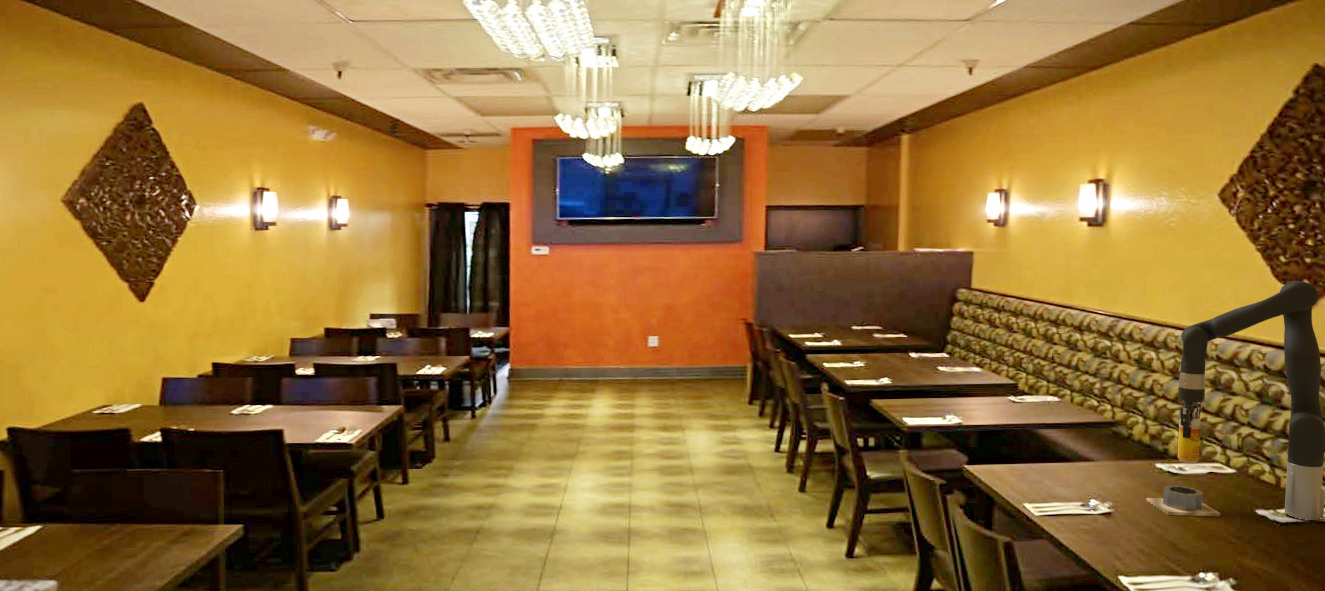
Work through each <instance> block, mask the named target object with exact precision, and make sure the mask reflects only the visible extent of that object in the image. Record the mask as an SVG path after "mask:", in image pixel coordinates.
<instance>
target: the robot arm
mask: <svg viewBox="0 0 1325 591" xmlns="http://www.w3.org/2000/svg"><path fill="white" fill-rule="evenodd" d="M1318 299H1319V293H1318V289H1317V288H1316V287H1315V286H1314V285H1313V284H1312V283H1309V282H1307V281H1302V280H1291V281H1288V282H1287V283H1285V284H1283V286H1282V287H1281V289H1280V291H1279V292H1278V293H1276V294H1274V295H1271V296H1270V297H1267V298H1265V299H1262V300H1260V301H1257V302H1253V303H1250V304H1248V305H1244V306H1241V307H1238V308H1235V309H1231V310H1229V311H1227V312H1224V313H1222V314H1219V315H1217V316H1215V317H1213V318H1210V319H1208V320H1204V321H1200V322H1197V323H1195V324H1192V325H1190V326H1187V327H1186V328H1184V329H1183V331H1182V332H1181V337H1180V338H1181V341H1182V356H1181V359H1180V373H1179V376H1178V377H1179V378H1178V394H1177V398H1178V400H1179V401H1182V402H1184V405H1182V407H1180V410H1179V412H1180V417H1179V419H1180V418H1181V423H1180V424H1181V425H1182V426H1183V437H1184V438H1190V437H1191V426H1192V421H1194V418H1195V417H1199V418H1200V419H1201V410H1202V404H1201V403H1204V402H1205V397H1206V396H1205V395H1206V355H1207V349H1208V343H1209V342H1210V341H1213V340H1216V339H1218V338H1225V337H1228V336H1231V335H1234V334H1236V333H1238V332H1241V331H1243V330H1246V329H1248V328H1251V327H1253V326H1256V325H1258V324H1260V323H1263V322H1265V321H1268V320H1271V319H1273V318H1276V317H1279V316H1282V317H1283V325H1284V334H1283V343H1284V344H1283V345H1284V346H1283V350H1284V352H1283V354H1284V355H1283V357H1284V358H1283V359H1284V368H1285V375H1286V380H1287V385H1288V389H1289V392H1290V401H1291V402H1290V418H1289V424H1288V425H1289V426H1288V443H1287V445H1288V446H1287V460H1286V462H1287V463H1286V479H1285V480H1286V481H1285V482H1286V483H1285V499H1284V500H1285V501H1284V513H1285V512H1286V513H1287V514H1288V515H1290V516H1293V517H1296V518H1300V519H1299V520H1301V519H1308V520H1307V521H1309V520H1316V521H1319V520H1318V519H1320V518H1323V519H1324V515H1325V513H1324V511H1325V489H1323V472H1324V459H1325V421H1324V417H1323V415H1322V409H1321V404H1320V389H1321V376H1322V367H1321V366H1322V364H1321V352H1320V347H1319V343H1318V340H1317V336H1316V334H1315V330H1314V327H1313V315H1312V314H1313V307H1314V306H1315V305H1316V303H1317V302H1318ZM1190 417H1191V418H1190ZM1185 420H1187V422H1185ZM1296 518H1295V519H1296ZM1320 520H1321V519H1320Z"/></svg>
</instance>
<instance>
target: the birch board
mask: <svg viewBox="0 0 1325 591" xmlns="http://www.w3.org/2000/svg"><path fill="white" fill-rule="evenodd" d="M1147 501H1148V502H1147ZM1146 502H1147V503H1149V502H1150V503H1149V504H1151V505H1152V504H1153V505H1152V506H1154V507H1155V506H1156V508H1157V509H1158V510H1160V511H1161V512H1163V513H1164V514H1165V515H1167V516H1189V517H1190V516H1193V517H1195V516H1196V517H1197V516H1199V517H1221V512H1219V511H1217V510H1216V509H1214V508H1212V507H1210V506H1209V505H1207V504H1206V503H1204V502H1202V509H1201V510H1196V511H1190V510H1180V509H1175V508H1171V507H1168V506H1166V505H1165V504H1163V497H1162V498H1161V497H1146Z"/></svg>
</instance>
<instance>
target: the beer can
mask: <svg viewBox="0 0 1325 591" xmlns="http://www.w3.org/2000/svg"><path fill="white" fill-rule="evenodd" d="M1190 418H1191V417H1190ZM1185 422H1187V420H1185ZM1180 423H1181V418H1180V417H1179V425H1178V427H1179V428H1178V443H1177V444H1178V445H1177V459H1178V460H1179V462H1181V463H1184V464H1196V463H1198V462H1199V460H1200V447H1201V445H1200V444H1201V443H1200V442H1201V426H1202V425H1201V424H1202V422H1201V417H1200V418H1199V417H1195V418H1194V421H1192V426H1191V437H1190V438H1184V437H1183V426H1182V425H1181V424H1180Z"/></svg>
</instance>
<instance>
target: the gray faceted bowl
mask: <svg viewBox="0 0 1325 591" xmlns="http://www.w3.org/2000/svg"><path fill="white" fill-rule="evenodd" d="M1203 493H1204V492H1203V491H1202V490H1200V489H1197V488H1194V487H1189V486H1183V485H1167V486H1164V487H1163V495H1162V498H1163V504H1165V505H1166V506H1168V507H1171V508H1175V509H1180V510H1190V511H1196V510H1201V509H1202V503H1203Z"/></svg>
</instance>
